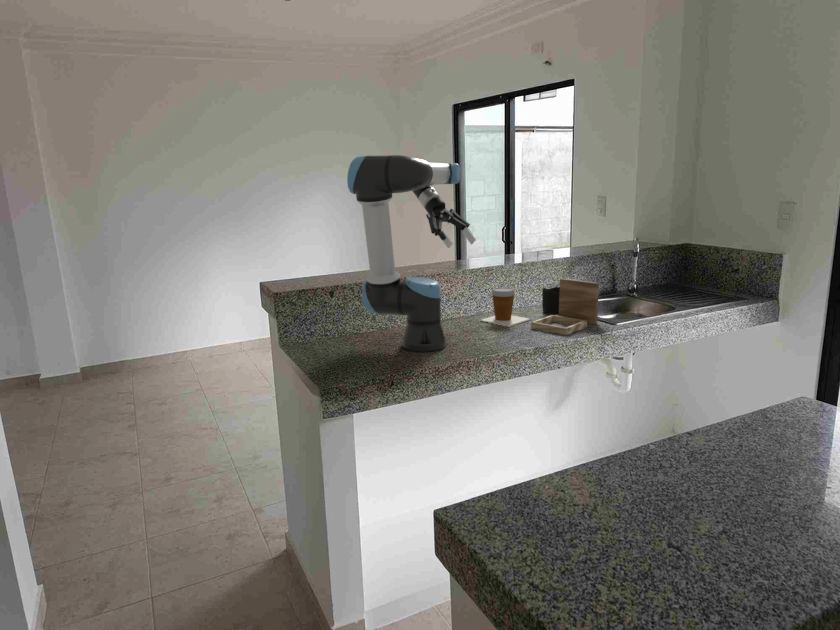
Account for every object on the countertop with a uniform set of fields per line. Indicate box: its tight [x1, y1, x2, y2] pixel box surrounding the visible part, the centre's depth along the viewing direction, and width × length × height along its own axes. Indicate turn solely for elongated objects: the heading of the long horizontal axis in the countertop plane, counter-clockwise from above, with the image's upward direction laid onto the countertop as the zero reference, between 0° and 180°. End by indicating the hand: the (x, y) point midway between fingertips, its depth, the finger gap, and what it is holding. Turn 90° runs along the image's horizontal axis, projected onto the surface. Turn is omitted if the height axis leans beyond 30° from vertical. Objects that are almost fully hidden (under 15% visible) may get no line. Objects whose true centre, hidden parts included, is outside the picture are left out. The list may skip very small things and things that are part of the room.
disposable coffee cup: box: [490, 286, 516, 321], centre depth 241 cm, size 10×10×12 cm
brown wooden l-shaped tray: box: [530, 278, 600, 336], centre depth 230 cm, size 22×16×16 cm
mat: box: [480, 314, 531, 328], centre depth 242 cm, size 14×14×1 cm
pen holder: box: [541, 286, 560, 315], centre depth 253 cm, size 9×9×10 cm
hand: (462, 243), depth 229 cm, fingers open, 13 cm apart
